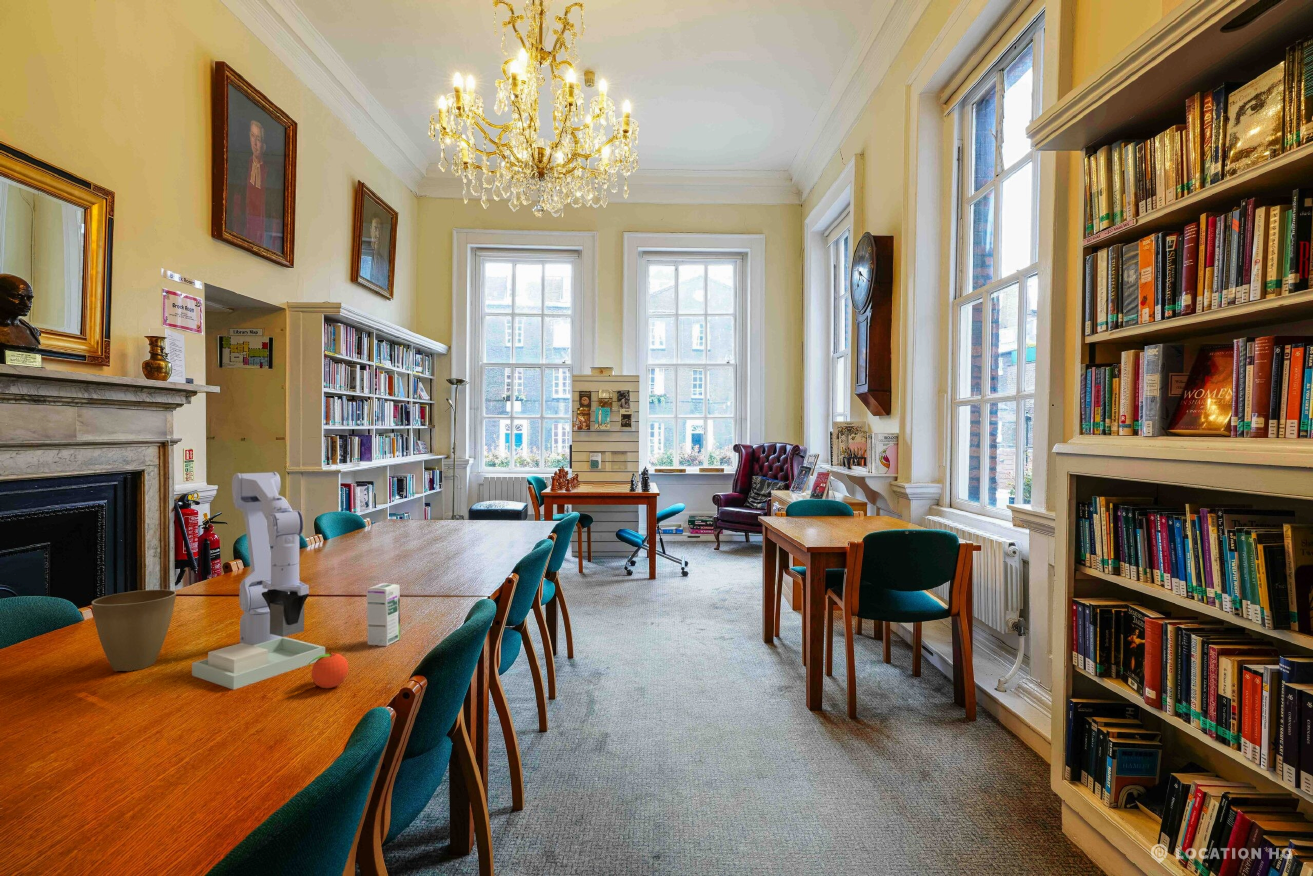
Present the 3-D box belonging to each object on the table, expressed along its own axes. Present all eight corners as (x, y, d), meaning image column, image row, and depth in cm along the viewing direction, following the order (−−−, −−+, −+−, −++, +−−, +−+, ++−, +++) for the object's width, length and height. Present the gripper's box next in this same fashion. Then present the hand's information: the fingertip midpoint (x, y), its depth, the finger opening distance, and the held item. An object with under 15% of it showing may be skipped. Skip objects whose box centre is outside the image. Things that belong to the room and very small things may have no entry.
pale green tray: (192, 679, 136) (192, 662, 136) (283, 651, 153) (283, 636, 153) (233, 693, 128) (233, 676, 128) (325, 662, 146) (325, 647, 146)
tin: (269, 633, 145) (270, 603, 145) (290, 628, 149) (291, 598, 149) (282, 637, 142) (283, 606, 142) (304, 631, 147) (304, 601, 147)
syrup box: (387, 646, 156) (387, 588, 156) (366, 645, 158) (366, 587, 158) (400, 639, 162) (400, 583, 162) (380, 637, 163) (380, 582, 163)
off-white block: (208, 675, 136) (208, 652, 136) (242, 664, 142) (242, 642, 142) (234, 683, 131) (234, 660, 131) (268, 672, 137) (268, 649, 137)
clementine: (304, 697, 126) (304, 662, 126) (306, 685, 132) (306, 651, 132) (349, 690, 130) (348, 655, 130) (348, 678, 136) (348, 645, 136)
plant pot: (158, 674, 138) (158, 602, 138) (76, 682, 134) (75, 607, 134) (187, 652, 152) (187, 586, 152) (114, 658, 148) (114, 590, 148)
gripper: (249, 564, 145) (249, 622, 145) (287, 570, 138) (287, 631, 138) (279, 558, 151) (279, 614, 151) (317, 564, 145) (317, 623, 145)
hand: (285, 622), depth 145 cm, fingers closed on tin, 5 cm apart
